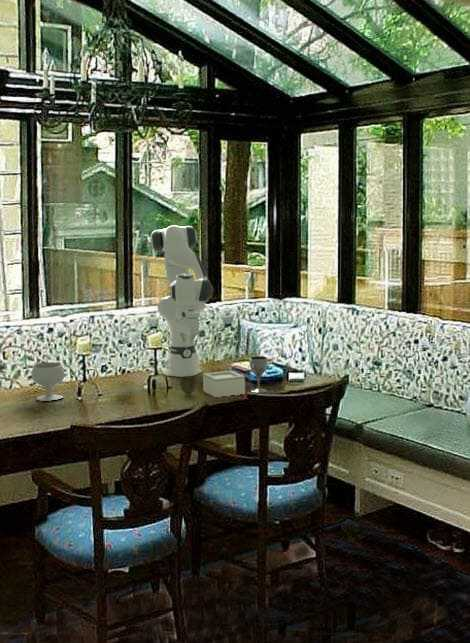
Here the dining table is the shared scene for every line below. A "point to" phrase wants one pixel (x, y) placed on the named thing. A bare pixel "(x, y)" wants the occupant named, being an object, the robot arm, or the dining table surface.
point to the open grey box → (223, 383)
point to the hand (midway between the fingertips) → (187, 343)
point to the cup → (188, 385)
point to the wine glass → (258, 369)
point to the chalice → (48, 378)
